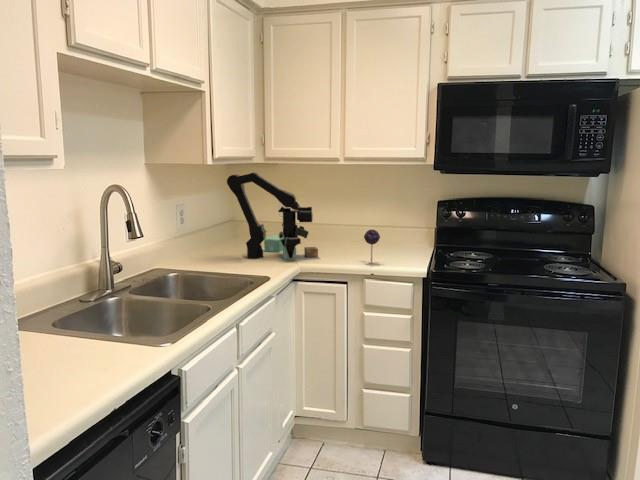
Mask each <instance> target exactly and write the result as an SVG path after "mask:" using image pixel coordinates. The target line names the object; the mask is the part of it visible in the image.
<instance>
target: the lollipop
mask: <svg viewBox="0 0 640 480" xmlns="http://www.w3.org/2000/svg"><path fill="white" fill-rule="evenodd" d="M363 238H364V241H365V242H366V243H367V244H368V245H370V264H371V265H372V264H373V247H374V245H375V244H377V243H378V242H379V241H380V239H381V235H380V233H379V232H378V231H377V230H375V229H369V230H367V231H366V232H365V234H364V235H363Z"/></svg>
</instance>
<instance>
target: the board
mask: <svg viewBox="0 0 640 480" xmlns="http://www.w3.org/2000/svg"><path fill="white" fill-rule="evenodd" d="M280 257H281V258H282V260H284V261H285V262H289V261H292V262H293V261H309V260H310V261H311V260H321V257H319V256H318V258H306V257H305V253H304V254H296V259H284V258H283V254H282V255H280Z"/></svg>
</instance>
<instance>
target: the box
mask: <svg viewBox="0 0 640 480" xmlns="http://www.w3.org/2000/svg"><path fill="white" fill-rule="evenodd" d="M281 239H282V237H281V238H279V234H272V235H270V236H268V237H265V239H264V240H263V242H264V244H263V245H264V248H263V249H264V252H265V253H277V254H278V253H281V252H283V245H282V242H281Z"/></svg>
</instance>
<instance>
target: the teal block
mask: <svg viewBox="0 0 640 480" xmlns="http://www.w3.org/2000/svg"><path fill="white" fill-rule="evenodd" d="M282 255H283V258H284V259H296V255H297V247H296V246H295V248H294V252H293V256H292V258H289V255H288V253H287V250H286V247H285V246H283V251H282ZM283 258H282V259H283ZM284 259H283V260H284Z"/></svg>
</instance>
